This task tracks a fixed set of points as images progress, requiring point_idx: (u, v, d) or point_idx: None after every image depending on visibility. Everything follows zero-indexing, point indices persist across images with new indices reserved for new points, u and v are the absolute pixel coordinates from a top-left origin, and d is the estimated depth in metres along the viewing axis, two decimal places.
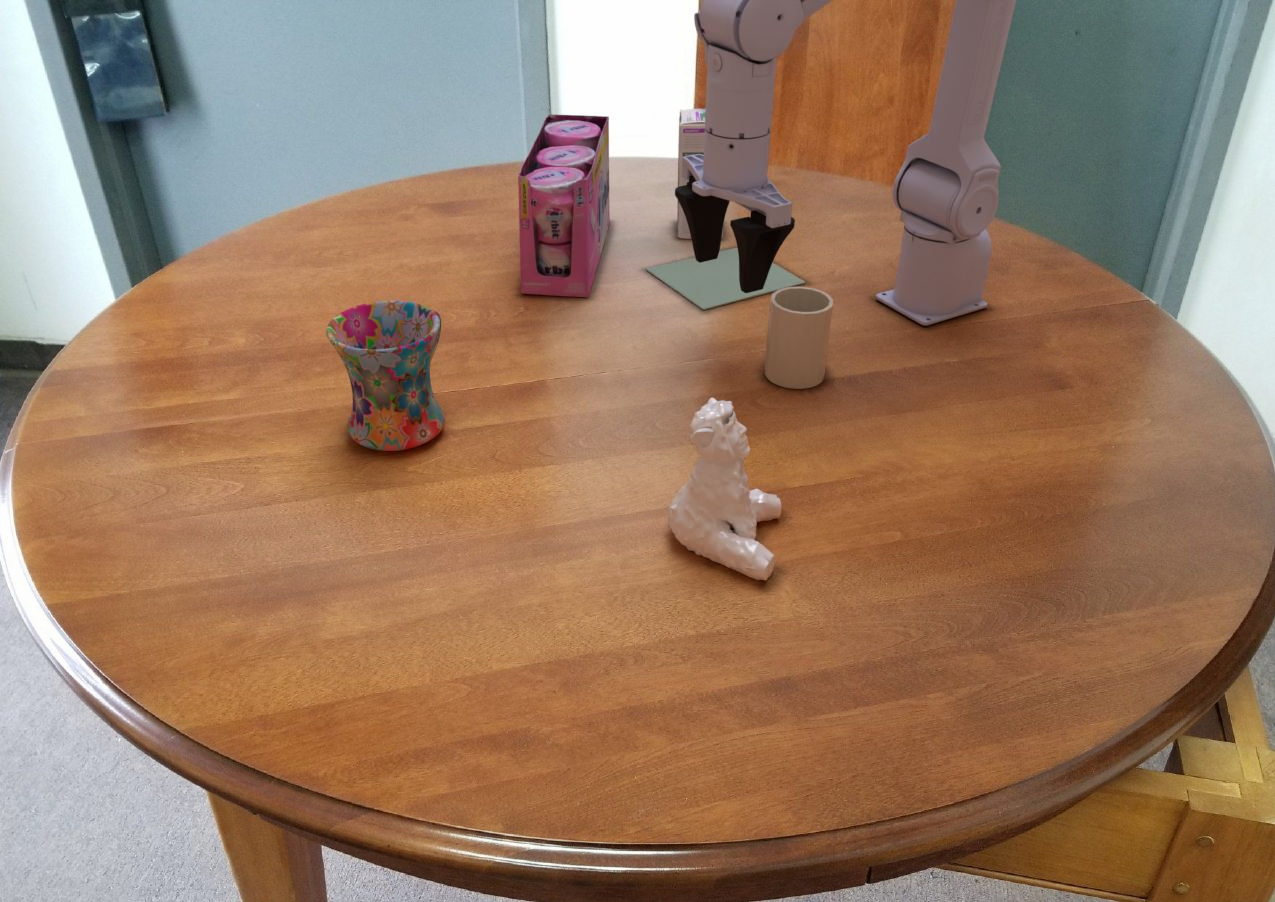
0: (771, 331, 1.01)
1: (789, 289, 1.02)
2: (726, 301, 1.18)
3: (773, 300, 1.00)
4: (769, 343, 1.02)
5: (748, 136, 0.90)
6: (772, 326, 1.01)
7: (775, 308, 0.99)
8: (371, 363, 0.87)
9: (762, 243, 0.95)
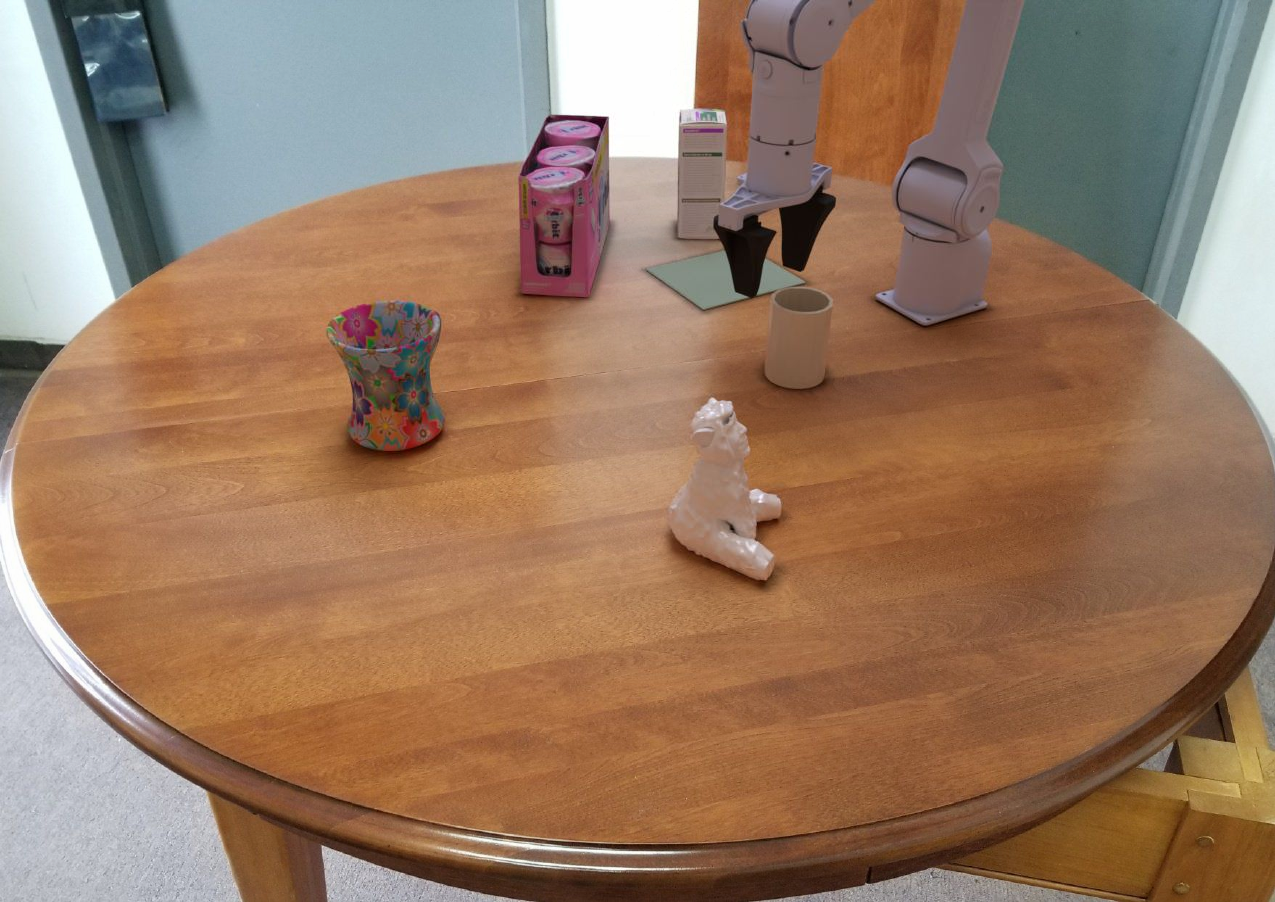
0: (771, 331, 1.01)
1: (789, 289, 1.02)
2: (726, 301, 1.18)
3: (773, 300, 1.00)
4: (769, 343, 1.02)
5: (797, 142, 0.90)
6: (772, 326, 1.01)
7: (775, 308, 0.99)
8: (371, 363, 0.87)
9: (748, 249, 0.94)
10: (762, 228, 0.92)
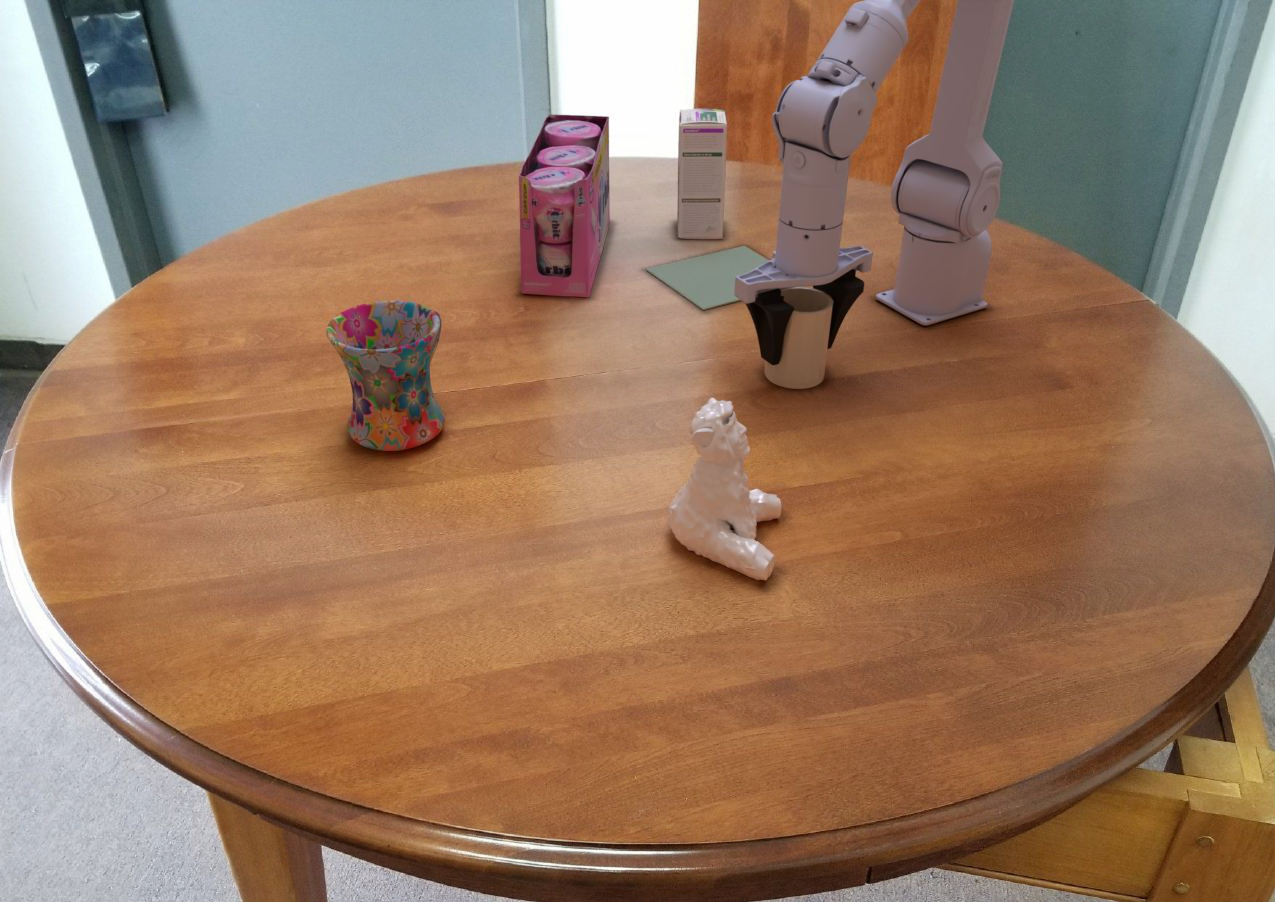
0: None
1: (789, 289, 1.02)
2: (726, 301, 1.18)
3: None
4: None
5: (829, 227, 0.94)
6: None
7: None
8: (371, 363, 0.87)
9: None
10: (782, 302, 0.97)
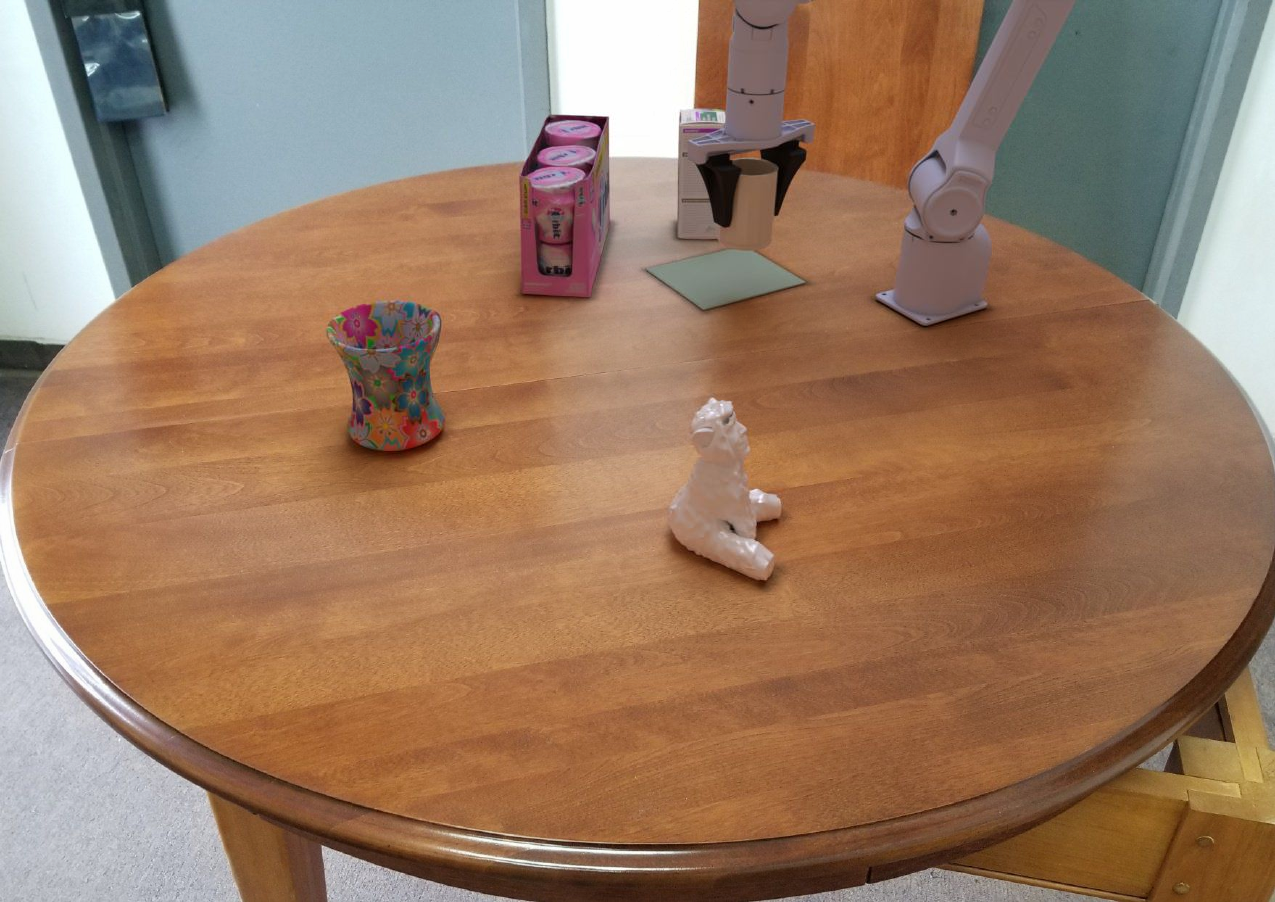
0: None
1: (739, 159, 1.12)
2: (726, 301, 1.18)
3: None
4: None
5: (748, 92, 1.03)
6: None
7: None
8: (371, 363, 0.87)
9: None
10: (730, 165, 1.07)
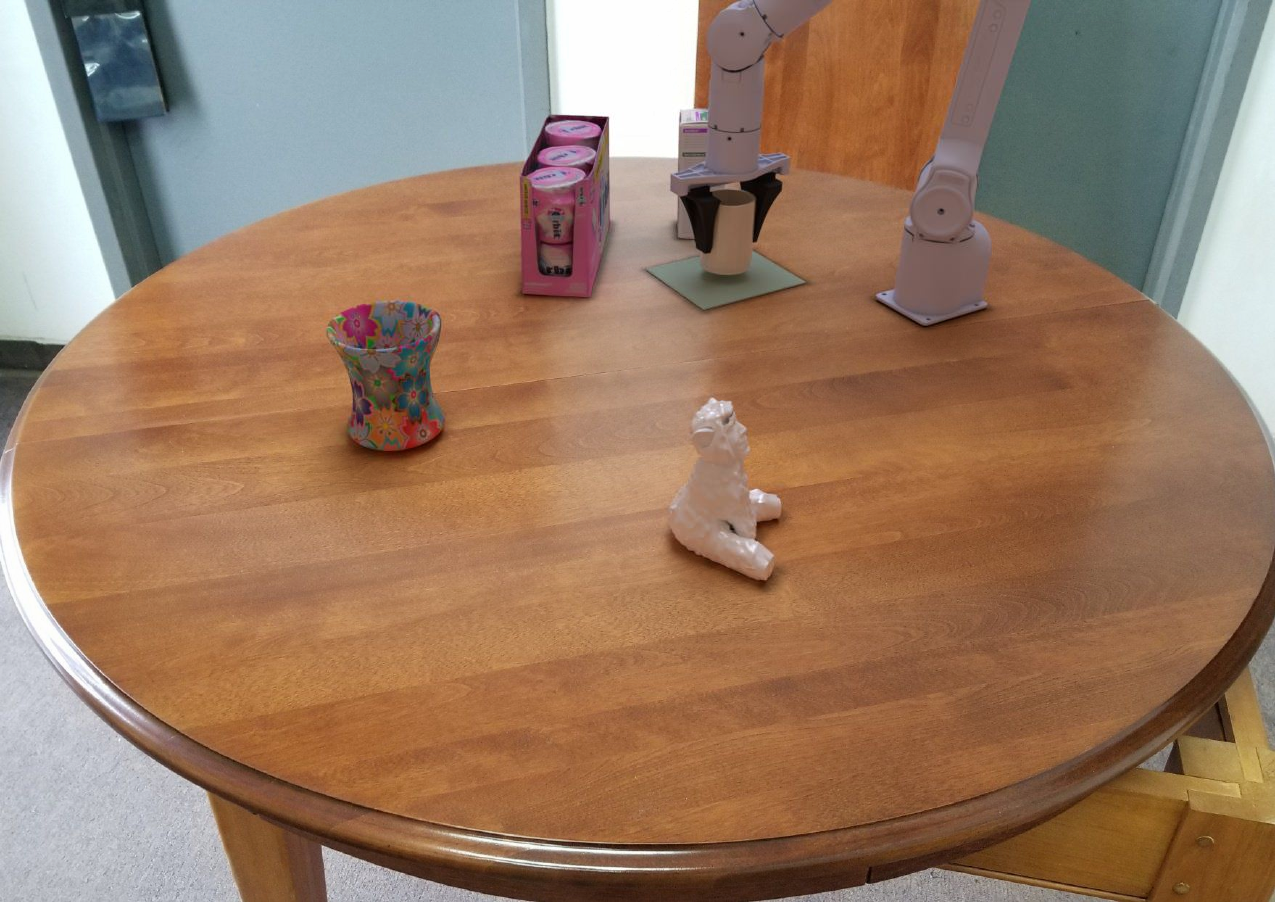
0: None
1: (719, 190, 1.20)
2: (726, 301, 1.18)
3: None
4: None
5: (720, 128, 1.12)
6: None
7: None
8: (371, 363, 0.87)
9: None
10: (710, 196, 1.15)
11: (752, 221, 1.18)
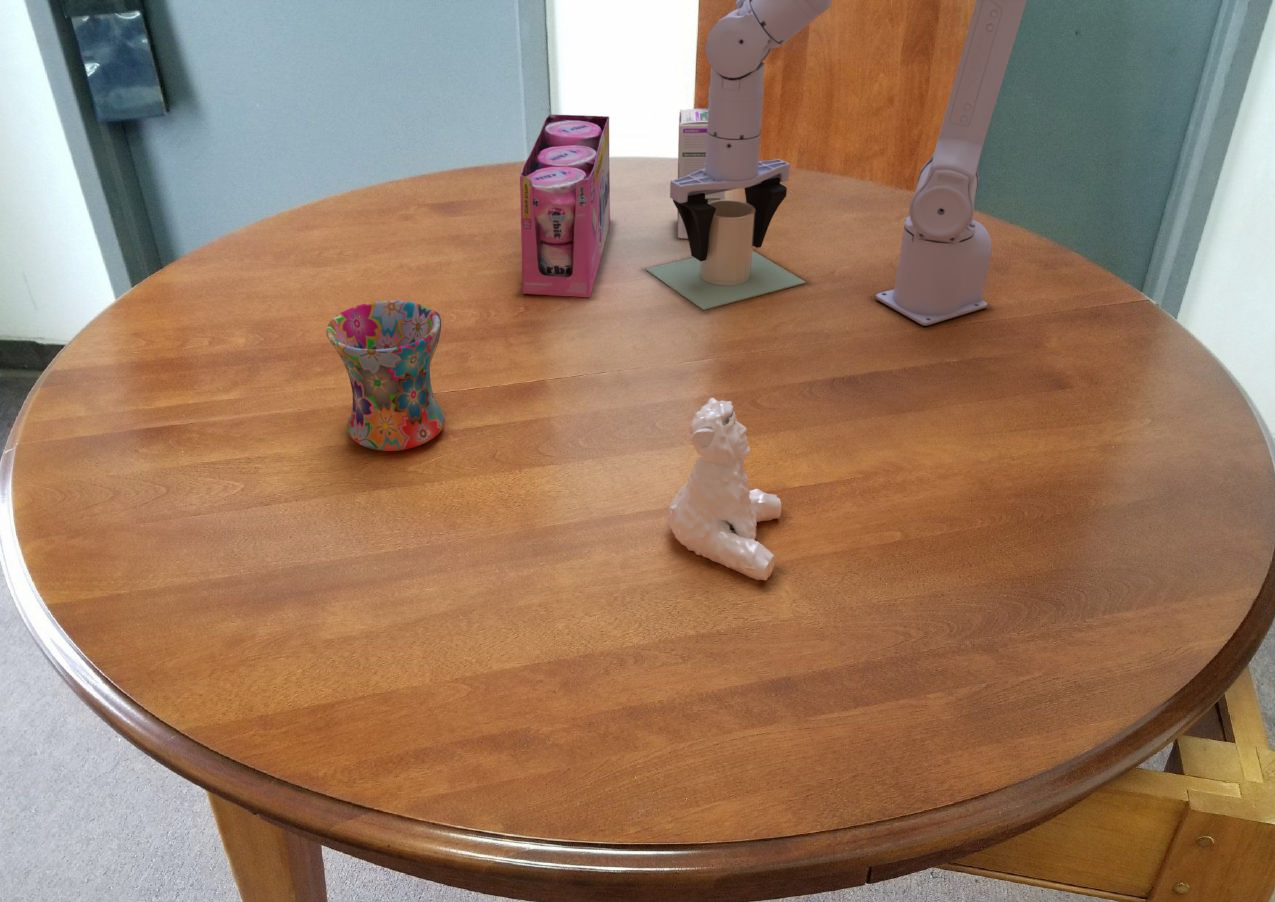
0: None
1: (719, 201, 1.21)
2: (726, 301, 1.18)
3: None
4: None
5: (719, 136, 1.12)
6: None
7: None
8: (371, 363, 0.87)
9: None
10: (705, 204, 1.15)
11: (751, 232, 1.19)
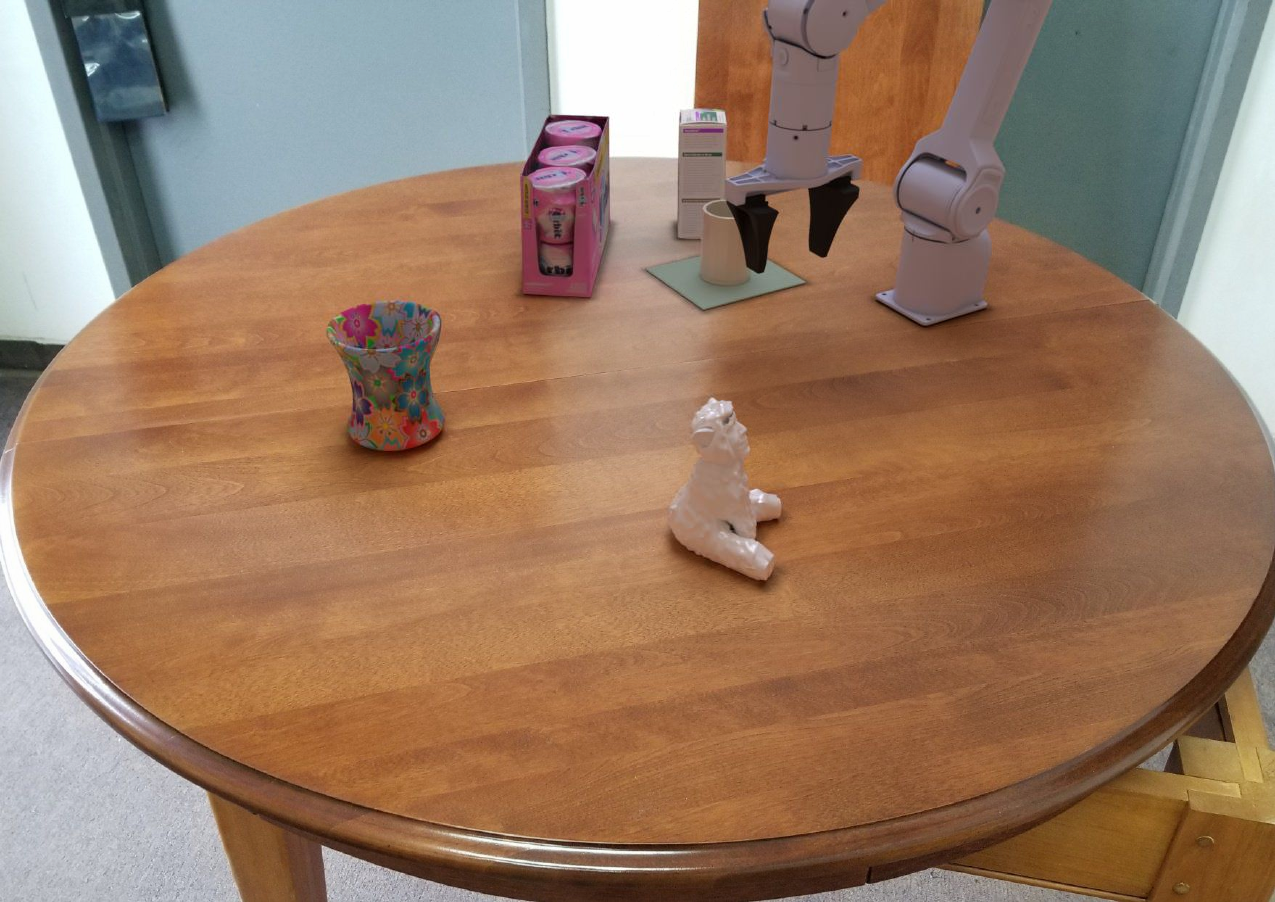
0: (703, 236, 1.20)
1: (719, 201, 1.21)
2: (726, 301, 1.18)
3: (704, 209, 1.19)
4: (702, 247, 1.21)
5: (811, 128, 0.94)
6: (704, 231, 1.19)
7: (706, 215, 1.18)
8: (371, 363, 0.87)
9: None
10: (766, 207, 0.97)
11: None
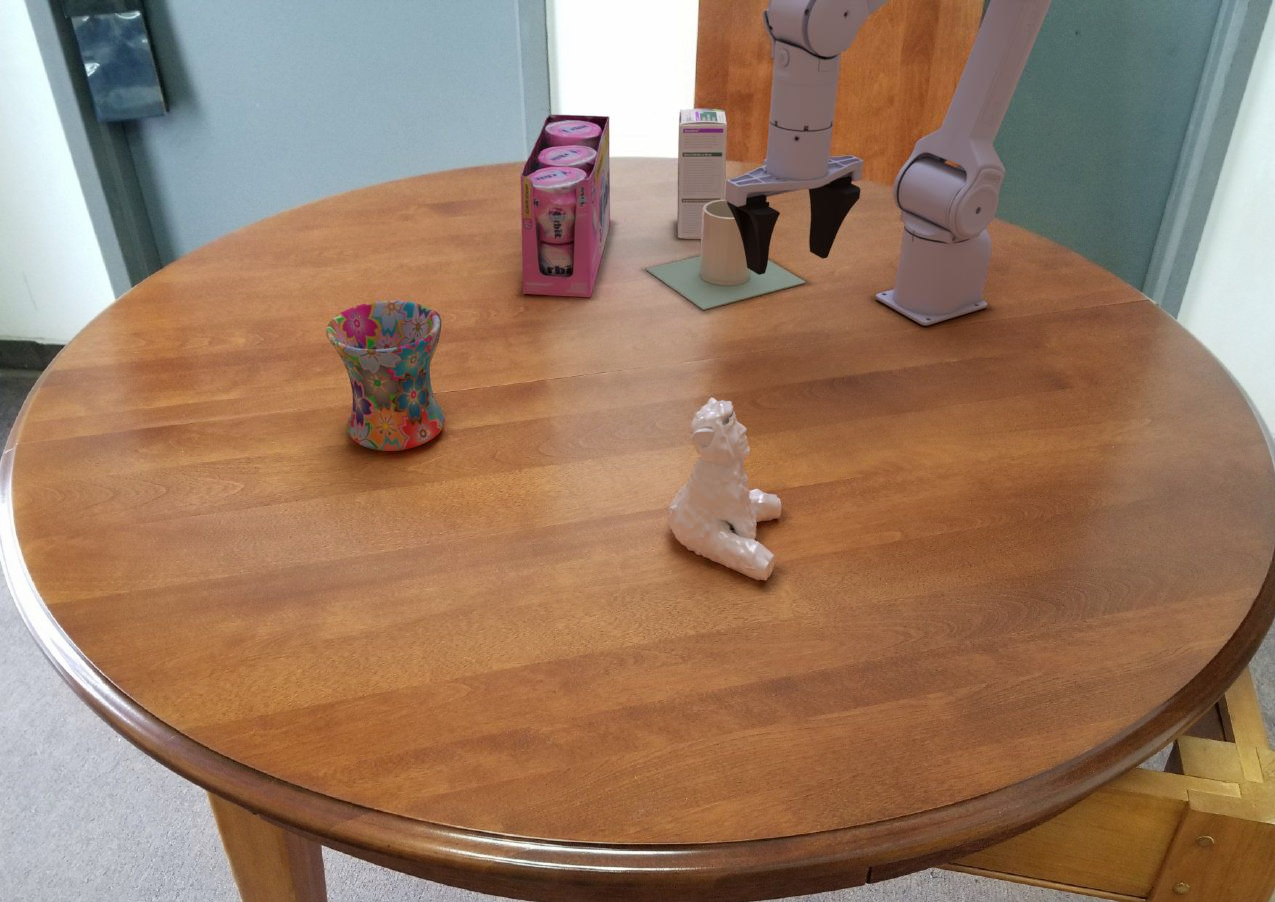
0: (703, 236, 1.20)
1: (719, 201, 1.21)
2: (726, 301, 1.18)
3: (704, 209, 1.19)
4: (702, 247, 1.21)
5: (812, 128, 0.94)
6: (704, 231, 1.19)
7: (706, 215, 1.18)
8: (371, 363, 0.87)
9: None
10: (767, 208, 0.97)
11: None
